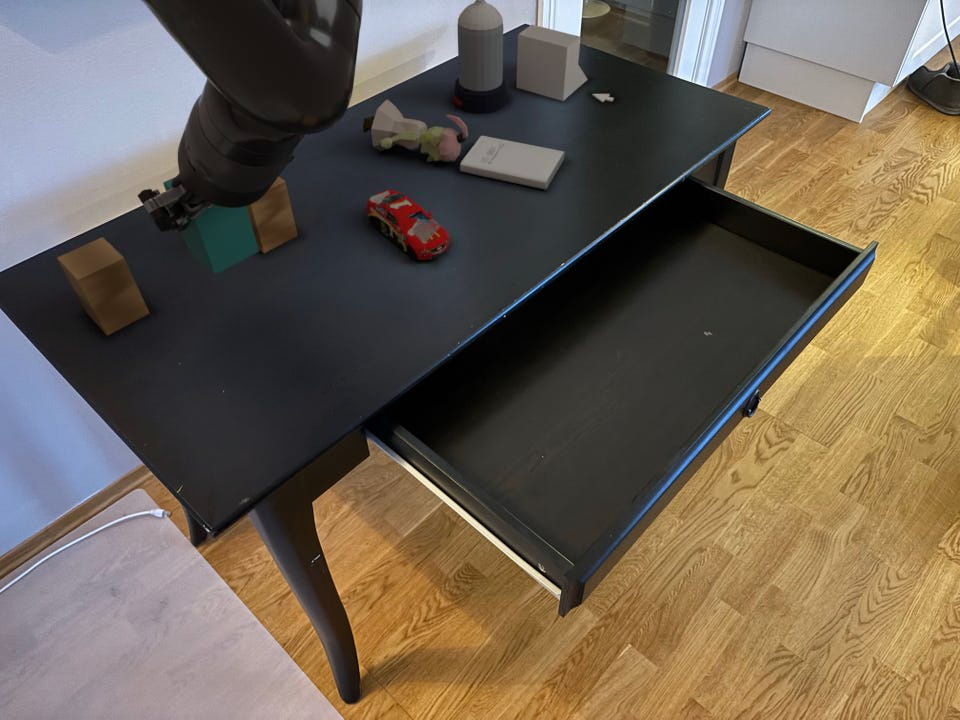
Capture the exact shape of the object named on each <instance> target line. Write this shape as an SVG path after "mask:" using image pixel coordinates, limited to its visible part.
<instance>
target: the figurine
mask: <svg viewBox="0 0 960 720" xmlns="http://www.w3.org/2000/svg"><path fill="white" fill-rule="evenodd" d="M445 117H446V118H448V119H449V120H450V121H451V122H453V123H455V125H457V127H458V128H459V129H460V130H461V133H459V131H456V130H455V129H454V128H451V127H448V126H447V127H444V126H438V125H437V126H436V125H435V126H432V127H429V128H428V126H427V124H426V123H425V122H424V121H422V120H418V119H412V118H405V117H404V116H403V114H402V112H400V110H399V109H398V108H397V106H396V105H395V104H394V103H393V102H391V101H390V100H389V99H386V100H385V101H383V103H382V104H381V105H379V107H378V108H376V111H375V115H373V116H370V117H369V116H368V117H364V118H363V124H362V133H368V132H371V141H372V146H373V148H374V149H377V150H378V151H379V152H382V151H385V150H389V149H391V148H392V147H394V146H396V145H399V146H402V147H404V148H405V149H408V150H410V151H412V152H413V151H416V150H418V149H420V154H422V155H428V156H427V158H426V163H428V162H434V163H438V162H441V161H442V162H448V163H452V162H455V161H457V158H458V157H459V156H460V154H461V150H462V144H463V143H465V142H466V141H467V137H469V134H468V133H469V132H468V126H467V125H466V124H465V122H464V121H463V120H462V119H461V118H460V117H459V116H455V115H452V114H446V115H445Z"/></svg>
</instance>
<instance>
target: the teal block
mask: <svg viewBox="0 0 960 720" xmlns="http://www.w3.org/2000/svg"><path fill="white" fill-rule="evenodd" d="M175 177H176V176H175ZM175 177H172V178H170V179H168V180H166V181H163V182H162V184H163V187H164V189H165V191H167V190H169V189H171V182H172V180H173V179H174V178H175ZM180 233H181V235H182V238H183V240H184V242H185V245H186V248H187V251H188V252H189V253H190V254H191V255H192V256H193V257H195V258H196V259H197V260H198V261H199V262H200V263H201V264H202V265H203V266H204V267H205V268H207V269H208V270H209V271H210V272H211V273H212V274H214V275H217V274H219V273H220V272H223V271H225V270H226V269H229V268H230V267H233V266H234V265H236V264H238V263H240V262H243V261H244V260H246V259H248V258H250V257H252V256H254V255H255V254H257V253H259V252H260V250H259V249H258V246H257V242H256V239H255V235H254V232H253V229H252V225H251V222H250V218H249V215H248V211H247V208H246V206H245V207H239V208H226V207H221V206H214V207H213V208H211V209H210V210H209V211H208V212H207V213H206V214H205V215H202V216H200V217H197V218H194V219H191V220H190V222H189V224H188V226H187V228H186V229H185V230H183V231H181V232H180Z"/></svg>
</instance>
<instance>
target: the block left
mask: <svg viewBox="0 0 960 720" xmlns="http://www.w3.org/2000/svg"><path fill="white" fill-rule="evenodd" d="M56 259H57V261H58V263H59V265H60V267H61V268H62V270H63V272H64V274H65V276H66V278H67V279H68V281H69V283H70V285H71V287H72V288H73V291H74V292H75V294H76V295H77V298H78V300H79V301H80V303H81V305H82V307H83V308H84V310H85V312H86V314H87V315H88V316H89V317H90V319H91V320H92V321H93V322H94V323H95V325H97V326H98V327H99V329H100V330H101V331H103V333H104V334H105V335H106V336H110V335H111V334H114V333H116V332H117V331H119V330H121V329H123V328H125V327H126V326H129V325H131V324H132V323H135V322H136V321H138V320H140V319H142V318H144V317H146V316H148V315H150V311H149V309H148V307H147V304H146V302H145V300H144V298H143V296H142V293H141V292H140V290H139V289H140V288H139V287H138V285H137V283H136V281H135V278H134V276H133V274H132V272H131V270H130V268H129V265H128V264H127V261H126V259H125V257H124V256H123V255H122V254H121V253H120V252H119V251H118V250H117V249H116V248H114V246H113V245H112V244H111V243H109V242H108V240H107V239H105V238H104V237H103V236H102V237H100V238H97V239H95V240H93V241H91V242H89V243H86V244H84V245H82V246H79V247H77V248H76V249H75V248H74V249H73V250H71V251H69V252H66V253H65V254H62V255H60V256H58V257H56Z"/></svg>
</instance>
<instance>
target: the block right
mask: <svg viewBox="0 0 960 720" xmlns="http://www.w3.org/2000/svg"><path fill="white" fill-rule="evenodd" d="M246 208H247V211H248V215H249V218H250V222H251V225H252V229H253V232H254V235H255V239H256V242H257V246H258V249H259V252H262V254H266V253H268V252H269V251H271V250H273V249H275V248H277V247H280V246H281V245H284V244H285V243H287V242H289V241H291V240H292V239H294V238H297V237H298V236H299V235H298V231H297V226H296V222H295V218H294V213H293V210H292V205H291V199H290V196H289V192H288V187H287V183H286V180H284V179H283V178H281V177H280V176H279V177H278V178H277V179H276V181H275V182H274V183H273V185H272V186H271V187H270V189H269V190H268V191H267V193H266V194H265V195H264V196H263V197H262V198H261V199H259V200H258V201H257V202H255V203H253V204H251V205H248V206H246Z"/></svg>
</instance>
